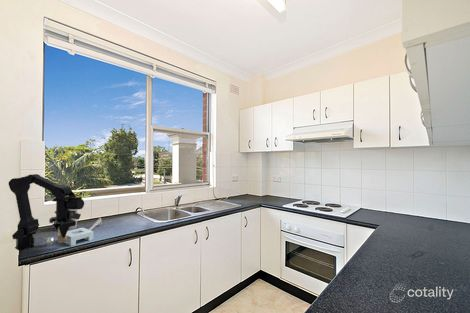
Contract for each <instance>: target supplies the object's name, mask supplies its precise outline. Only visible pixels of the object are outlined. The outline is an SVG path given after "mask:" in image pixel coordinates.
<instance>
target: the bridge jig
mask: <svg viewBox="0 0 470 313" xmlns="http://www.w3.org/2000/svg"><path fill="white" fill-rule="evenodd" d="M88 229H89V228H85V227H79V228H78V227H77V228H75V229H72V230H68V231H67V241H66V242H63V243H64V244H66V245H68V246H70V247H72V246H76V245H77V241H78V240H82V239H84V240H86V241H88V240H89V241H90V242H91V241H92V240H94V235H95V234H94V232H95V231H93V230H88ZM89 241H88V242H89Z"/></svg>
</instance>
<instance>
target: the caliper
mask: <svg viewBox="0 0 470 313" xmlns="http://www.w3.org/2000/svg"><path fill="white" fill-rule="evenodd" d="M101 225H102V218H101V217H98V219H97V220H96V221H95V223H94V224H93V225H92V226H90V227H89V228H87V229H88V230H91V231H93V229H95V227H98V226H101Z"/></svg>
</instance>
